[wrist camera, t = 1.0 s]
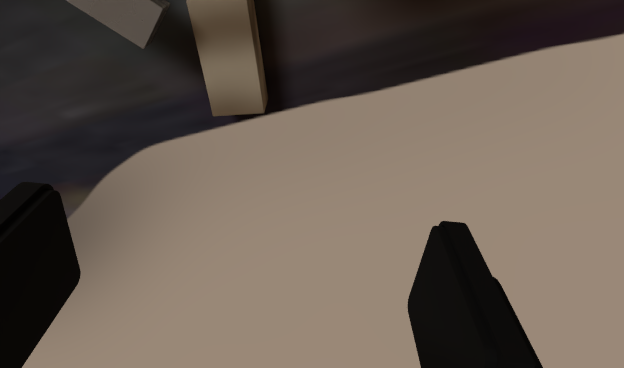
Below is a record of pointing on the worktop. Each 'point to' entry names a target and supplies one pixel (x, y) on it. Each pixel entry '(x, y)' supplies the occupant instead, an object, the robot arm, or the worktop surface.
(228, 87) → the pivot link
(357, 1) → the worktop surface
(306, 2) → the worktop surface
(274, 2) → the worktop surface
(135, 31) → the hook
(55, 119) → the worktop surface
